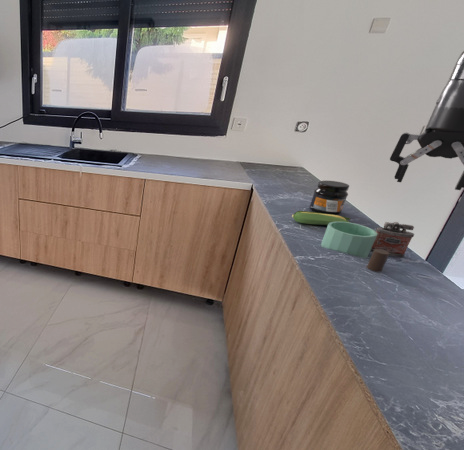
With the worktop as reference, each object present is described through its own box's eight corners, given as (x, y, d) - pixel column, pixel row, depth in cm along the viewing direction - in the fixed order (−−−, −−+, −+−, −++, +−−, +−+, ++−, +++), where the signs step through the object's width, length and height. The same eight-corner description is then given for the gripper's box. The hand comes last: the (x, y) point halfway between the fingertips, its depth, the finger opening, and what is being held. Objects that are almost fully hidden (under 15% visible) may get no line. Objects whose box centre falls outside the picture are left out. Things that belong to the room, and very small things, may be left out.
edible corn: (288, 219, 122) (292, 208, 120) (351, 225, 115) (356, 214, 113) (292, 224, 117) (296, 213, 115) (358, 231, 111) (363, 219, 109)
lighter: (369, 251, 97) (381, 222, 93) (367, 247, 100) (379, 218, 96) (405, 258, 93) (419, 228, 89) (402, 253, 95) (416, 224, 91)
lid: (405, 274, 85) (416, 251, 82) (401, 293, 78) (413, 268, 75) (347, 258, 94) (355, 237, 91) (338, 273, 86) (347, 251, 83)
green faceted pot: (370, 250, 98) (379, 228, 95) (364, 263, 91) (374, 240, 88) (325, 238, 106) (332, 218, 103) (317, 249, 99) (324, 228, 96)
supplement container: (331, 218, 122) (341, 188, 117) (302, 209, 131) (311, 182, 126) (346, 213, 126) (357, 185, 121) (318, 205, 135) (327, 178, 130)
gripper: (523, 104, 58) (478, 188, 64) (413, 103, 67) (383, 176, 74) (529, 106, 53) (480, 196, 60) (410, 105, 63) (379, 182, 70)
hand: (426, 185), depth 67 cm, fingers open, 8 cm apart
